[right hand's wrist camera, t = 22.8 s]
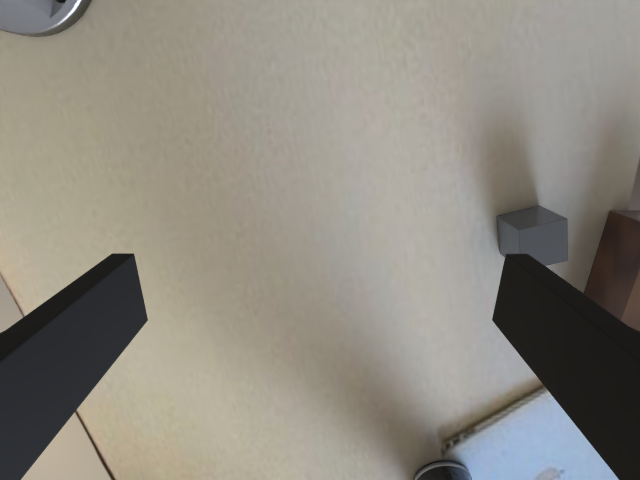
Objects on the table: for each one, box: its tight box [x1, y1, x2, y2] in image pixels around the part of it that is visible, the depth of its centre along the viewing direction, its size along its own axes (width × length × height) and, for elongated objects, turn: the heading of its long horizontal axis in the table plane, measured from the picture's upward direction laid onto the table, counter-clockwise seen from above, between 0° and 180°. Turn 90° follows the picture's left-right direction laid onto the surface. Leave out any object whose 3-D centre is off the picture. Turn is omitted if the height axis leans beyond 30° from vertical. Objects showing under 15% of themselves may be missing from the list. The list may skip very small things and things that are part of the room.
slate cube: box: [497, 206, 568, 266], centre depth 40 cm, size 5×5×5 cm
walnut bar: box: [584, 211, 640, 331], centre depth 43 cm, size 24×4×6 cm, turn 0°
